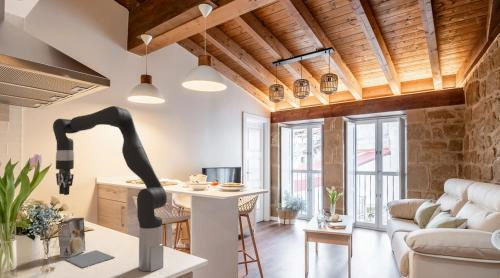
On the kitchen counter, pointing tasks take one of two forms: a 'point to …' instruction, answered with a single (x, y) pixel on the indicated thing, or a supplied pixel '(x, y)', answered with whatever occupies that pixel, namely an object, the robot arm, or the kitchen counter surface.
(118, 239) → the kitchen counter surface
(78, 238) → the coffee box
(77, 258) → the mat
